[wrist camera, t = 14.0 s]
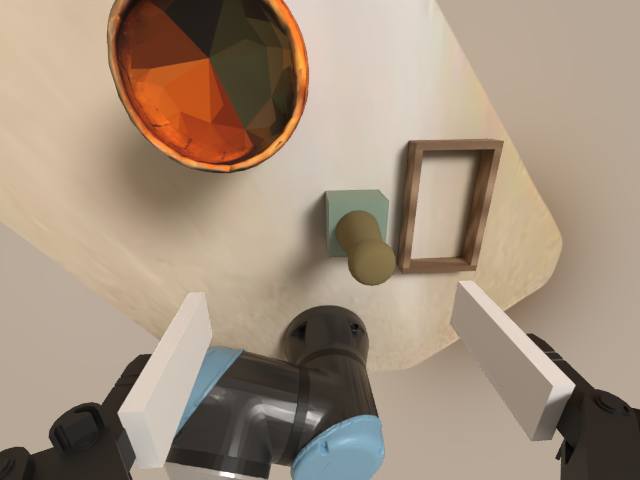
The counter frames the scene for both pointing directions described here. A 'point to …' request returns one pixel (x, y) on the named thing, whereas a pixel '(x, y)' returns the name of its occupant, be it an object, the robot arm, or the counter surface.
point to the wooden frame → (478, 209)
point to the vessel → (210, 77)
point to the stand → (352, 201)
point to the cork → (365, 248)
